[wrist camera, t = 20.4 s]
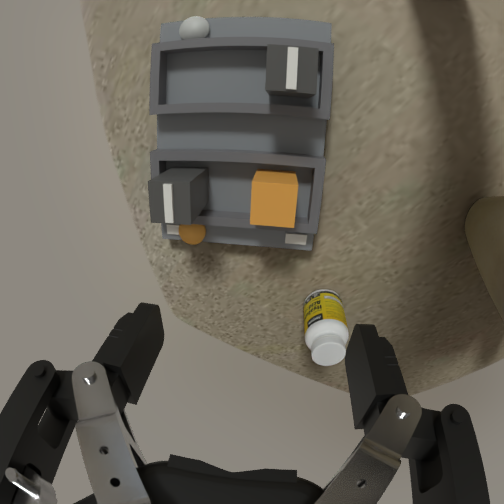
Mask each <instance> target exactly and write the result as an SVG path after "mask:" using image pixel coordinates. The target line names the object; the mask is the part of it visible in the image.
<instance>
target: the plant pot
mask: <svg viewBox="0 0 504 504" xmlns="http://www.w3.org/2000/svg"><path fill="white" fill-rule="evenodd" d="M465 235H466V238H467V241H468V244H469V247H470V250H471V252H472V255H473V258H474V260H475V263H476V265H477V268H478V270H479V272H480V275H481V277H482V279H483V281H484V284H485V286H486V288H487V290H488V292H489V294H490V296H491V298H492V300H493V302H494V304H495V306H496V308H497V310H498V312H499V314H500V316H501V318H502V320H503V322H504V196H499V197H485V198H481V199H479V200H478V201H476V202H475V203H474V204H473V205H472V207H471V208H470V210H469V212H468V214H467V217H466V220H465Z"/></svg>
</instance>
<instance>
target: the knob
mask: <svg viewBox="0 0 504 504" xmlns="http://www.w3.org/2000/svg"><path fill="white" fill-rule="evenodd" d="M318 52H319V48H311V47H302V46H290V45H276V44H267V62H266V82H265V91H266V92H267V93H268V95H275V96H289V97H300V98H310V97H312V96H314V95H316V92H317V74H318Z"/></svg>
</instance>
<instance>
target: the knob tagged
mask: <svg viewBox="0 0 504 504" xmlns="http://www.w3.org/2000/svg"><path fill="white" fill-rule="evenodd" d="M148 190H149V204H150V216H151V223H167V224H183V225H191V224H192V223H193V222H194V220H195V219H196V218H197V217H198V215H199V214H200V213H201V211H202V210H203V209H204V207H205V206H206V205H207V203H208V167H172V168H170V169H168V170H166V171H165V172H163V173H161V174H159V175H158V176H156V177H154V178H153V179H151V180H149V181H148Z"/></svg>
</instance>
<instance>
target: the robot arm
mask: <svg viewBox="0 0 504 504" xmlns="http://www.w3.org/2000/svg"><path fill="white" fill-rule="evenodd" d="M163 341H164V329H163V324H162V318H161V314H160V308H159V306H158V305H155V304H148V303H140V304H139V305H138V307H137V308H136V310H135V311H134V313H127V314H126V315H124V316H123V317H122V318H120V319H119V320H118V322H117V323H116V325H115V326H114V329H113V330H112V331H111V332H110V334H109V336H108V337H107V339H106V340H105V342H104V343H103V345H102V346H101V348H100V349H99V351H98V353H97V354H96V356H95V357H94V359H93V360H92V361H90V362H85V363H82V364H80V365H79V366H78V367H76V368H75V370H74V371H59V370H55V368H54V366H53V365H52V363H51V362H49V361H46V360H40V361H36V362H34V363H33V364H31V365H30V366H29V368H28V369H27V370H26V372H25V374H24V375H23V377H22V378H21V380H20V381H19V383H18V385H17V386H16V388H15V390H14V391H13V393H12V394H11V396H10V398H9V400H8V402H7V403H6V405H5V407H4V408H3V410H2V412H1V414H0V504H57V499H56V494H55V490H54V488H53V486H52V483H53V480H54V477H55V475H56V472H57V469H58V467H59V464H60V461H61V459H62V456H63V454H64V451H65V449H66V446H67V444H68V442H69V439H70V437H71V434H72V432H73V429H74V427H75V426H76V432H77V436H78V441H79V445H80V449H81V452H82V456H83V460H84V463H85V467H86V470H87V473H88V477H89V480H90V483H91V486H92V489H93V492H94V493H93V494H91V495H90V496H88V497H86V498H84V499H82V500H80V501H78V502H76V503H74V504H377V502H378V501H379V499H380V498H381V496H382V495H383V493H384V492H385V490H386V488H387V487H388V485H389V483H390V482H391V480H392V479H393V477H394V475H395V474H396V472H397V470H398V468H399V466H400V464H401V460H400V458H401V457H402V458H408V459H409V466H410V475H411V486H412V498H413V504H490V499H489V493H488V487H487V482H486V476H485V472H484V467H483V462H482V458H481V454H480V450H479V446H478V443H477V439H476V435H475V431H474V428H473V425H472V421H471V418H470V415H469V413H468V412H467V410H466V409H465V408H464V407H462V406H460V405H457V404H450V405H447V406H446V407H445V408H444V409H443V410H442V411H441V412H440V411H434V410H429V409H424V408H421V406H420V404H419V403H418V401H417V400H416V399H415V398H413V397H411V396H409V395H408V393H407V389H406V386H405V383H404V380H403V376H402V373H401V370H400V367H399V366H398V361H397V358H395V356H396V355H395V352H394V349H393V347H392V345H391V344H390V343H389V342H388V340H387V339H386V338H385V337H379V336H378V333H377V330H376V327H375V325H371V324H356V325H355V327H354V330H353V333H352V336H351V339H350V341H349V344H348V347H347V350H346V355H345V366H346V372H347V378H348V385H349V391H350V398H351V404H352V412H353V419H354V426H355V429H364V433H365V436H364V437H363V438H362V440H361V441H360V443H359V444H358V445H357V447H356V448H355V450H354V451H353V452H352V454H351V455H350V456H349V458H348V459H347V460H346V462H345V463H344V464H343V466H342V467H341V468H340V469H339V471H338V472H337V473H336V474H335V475H334V477H333V478H332V479H331V480H330V481H329V482H328V484H327V485H326V486H325V487H324V488H323V489H322V488H321V487H319V486H318V485H316V484H314V483H313V482H310V481H308V480H306V479H303V478H299V477H297V470H279V469H260V470H252V471H244V472H228V471H226V470H223V469H220V468H218V467H215V466H213V465H210V464H208V463H205V462H203V461H200V460H195V459H190V458H185V457H180V456H176V455H171V454H170V458H169V461H158V462H153V463H149V464H147V462H146V460H145V458H144V456H143V454H142V452H141V450H140V449H139V446H138V444H137V442H136V439H135V436H134V434H133V431H132V429H131V426H130V423H129V421H128V418H127V415H126V412H125V410H124V408H125V406H126V404H127V402H128V403H132V404H135V405H136V404H137V402H138V400H139V397H140V395H141V393H142V390H143V388H144V386H145V383H146V381H147V379H148V377H149V375H150V372H151V370H152V368H153V366H154V363H155V361H156V359H157V357H158V354H159V352H160V350H161V348H162V346H163ZM46 408H47V409H46ZM45 409H46V411H45ZM44 411H45V413H44ZM43 413H44V415H43ZM42 415H43V417H42ZM41 417H42V419H41ZM40 419H41V421H40ZM39 421H40V423H39ZM77 421H78V422H77ZM38 423H39V425H38Z"/></svg>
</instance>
